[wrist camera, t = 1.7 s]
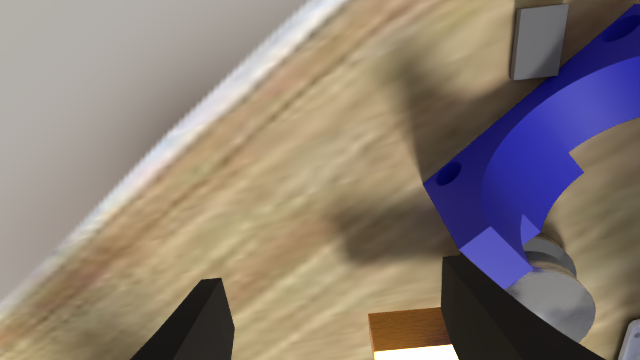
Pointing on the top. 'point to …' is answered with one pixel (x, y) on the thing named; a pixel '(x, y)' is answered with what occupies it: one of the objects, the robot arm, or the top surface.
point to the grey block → (538, 41)
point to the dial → (530, 290)
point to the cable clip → (536, 152)
